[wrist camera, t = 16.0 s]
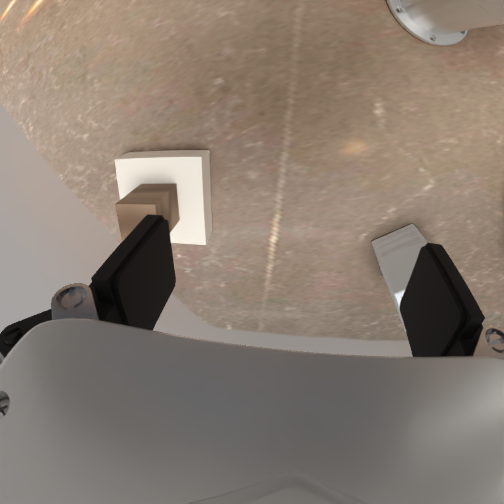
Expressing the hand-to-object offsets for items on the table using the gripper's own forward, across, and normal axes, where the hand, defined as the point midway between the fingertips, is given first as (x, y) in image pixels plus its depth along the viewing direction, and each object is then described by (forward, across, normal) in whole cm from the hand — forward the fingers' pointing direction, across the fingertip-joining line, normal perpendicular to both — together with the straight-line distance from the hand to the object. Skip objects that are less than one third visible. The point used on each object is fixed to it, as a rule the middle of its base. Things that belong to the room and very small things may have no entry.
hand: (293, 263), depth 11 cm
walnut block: (+25, +17, +10) cm, 31 cm away
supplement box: (+30, -17, +16) cm, 38 cm away
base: (+29, +17, +10) cm, 35 cm away
